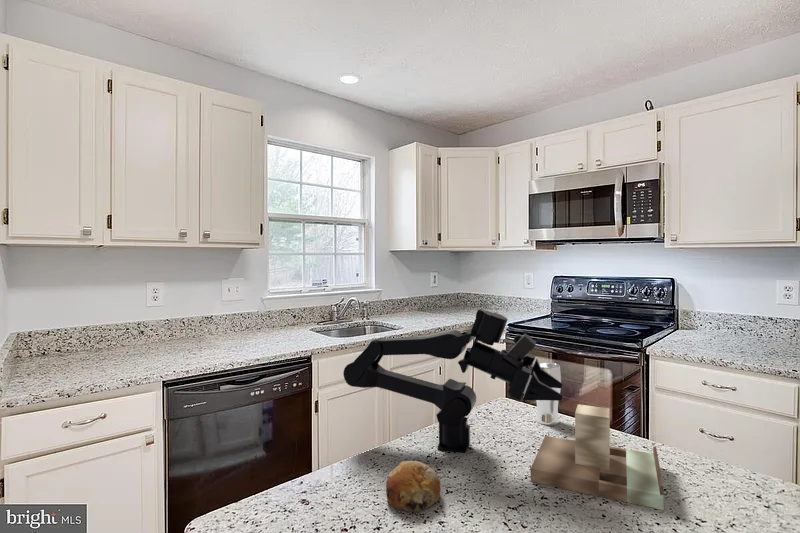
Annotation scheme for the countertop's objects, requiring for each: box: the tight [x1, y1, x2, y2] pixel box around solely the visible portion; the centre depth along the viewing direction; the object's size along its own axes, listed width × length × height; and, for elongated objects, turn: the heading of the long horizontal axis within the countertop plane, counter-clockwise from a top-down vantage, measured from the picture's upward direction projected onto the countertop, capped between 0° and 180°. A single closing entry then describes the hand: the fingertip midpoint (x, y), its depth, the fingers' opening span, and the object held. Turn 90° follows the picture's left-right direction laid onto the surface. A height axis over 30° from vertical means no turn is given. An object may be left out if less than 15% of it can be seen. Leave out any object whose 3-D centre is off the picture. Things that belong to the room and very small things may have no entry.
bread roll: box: [385, 460, 441, 512], centre depth 79 cm, size 10×10×8 cm
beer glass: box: [534, 361, 562, 426], centre depth 116 cm, size 7×7×15 cm
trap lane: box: [530, 435, 665, 511], centre depth 87 cm, size 22×18×4 cm
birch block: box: [574, 404, 611, 470], centre depth 87 cm, size 6×6×10 cm
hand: (562, 391), depth 93 cm, fingers open, 9 cm apart
